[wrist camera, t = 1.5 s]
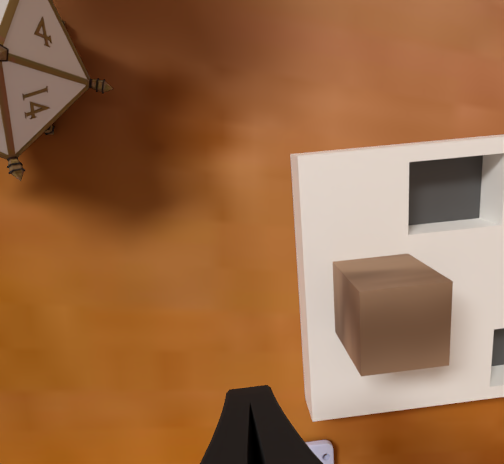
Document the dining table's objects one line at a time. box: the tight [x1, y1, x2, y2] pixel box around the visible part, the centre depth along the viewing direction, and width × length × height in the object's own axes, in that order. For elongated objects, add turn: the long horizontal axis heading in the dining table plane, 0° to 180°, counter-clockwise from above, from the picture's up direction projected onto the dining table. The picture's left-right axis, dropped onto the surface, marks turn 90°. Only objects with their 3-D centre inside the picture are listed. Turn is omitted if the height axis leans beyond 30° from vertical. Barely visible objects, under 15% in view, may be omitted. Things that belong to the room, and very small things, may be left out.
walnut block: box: [333, 254, 453, 376], centre depth 18 cm, size 4×4×4 cm
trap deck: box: [290, 134, 504, 422], centre depth 21 cm, size 15×19×4 cm
